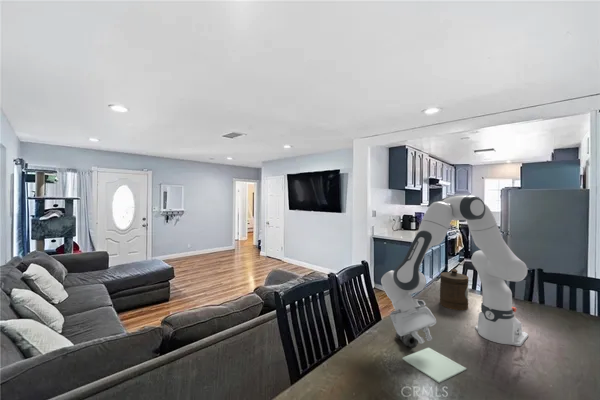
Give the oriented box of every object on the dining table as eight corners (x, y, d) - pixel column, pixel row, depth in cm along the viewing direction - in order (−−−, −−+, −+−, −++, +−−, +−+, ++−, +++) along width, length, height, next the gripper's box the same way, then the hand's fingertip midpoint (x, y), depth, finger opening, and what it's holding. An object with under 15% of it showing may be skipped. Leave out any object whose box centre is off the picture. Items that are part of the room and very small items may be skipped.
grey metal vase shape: (417, 350, 114) (400, 342, 126) (419, 335, 116) (402, 329, 128) (405, 346, 114) (389, 338, 125) (408, 331, 115) (392, 325, 127)
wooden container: (473, 310, 155) (474, 272, 155) (447, 310, 155) (448, 272, 155) (459, 300, 170) (459, 265, 170) (435, 300, 170) (435, 265, 170)
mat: (428, 348, 116) (428, 347, 116) (466, 369, 102) (466, 368, 102) (402, 358, 108) (402, 357, 108) (439, 383, 94) (439, 381, 94)
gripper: (392, 309, 108) (412, 345, 100) (426, 300, 118) (447, 332, 109) (384, 316, 112) (403, 351, 104) (417, 306, 122) (437, 338, 113)
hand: (426, 341), depth 107 cm, fingers open, 3 cm apart
